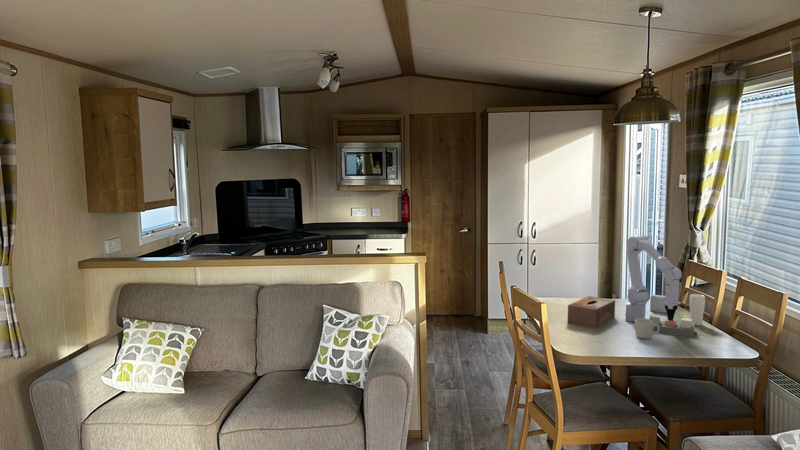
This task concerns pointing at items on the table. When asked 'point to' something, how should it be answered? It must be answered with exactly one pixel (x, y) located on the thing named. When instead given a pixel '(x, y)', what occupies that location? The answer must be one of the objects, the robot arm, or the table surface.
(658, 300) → the medicine box
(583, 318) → the tissue box cover
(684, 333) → the grey tray
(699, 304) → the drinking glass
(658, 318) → the sage block
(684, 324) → the white block
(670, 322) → the terracotta block
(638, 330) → the cup
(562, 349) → the table surface
